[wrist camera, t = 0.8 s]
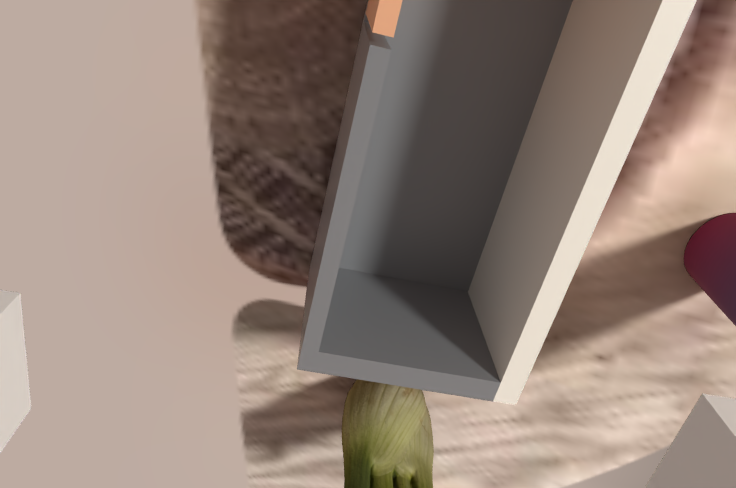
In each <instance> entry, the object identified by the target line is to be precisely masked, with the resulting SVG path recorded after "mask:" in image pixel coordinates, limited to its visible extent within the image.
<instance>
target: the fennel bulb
mask: <svg viewBox="0 0 736 488" xmlns="http://www.w3.org/2000/svg"><path fill="white" fill-rule="evenodd" d="M343 412H344V413H343V418H342V445H343V457H344V477H345V483H344V488H433V482H432V467H433V466H432V464H433V453H434V450H433V435H432V428H431V419H430V415H429V411H428V409H427V406H426V403H425V398H424V394H423V392H422V390H420V389H414V388H408V387H402V386H396V385H389V384H383V383H377V382H371V381H365V380H359V379H357V380H356V381H355V382H354V384H353V386H352V388H351V389H350V391H349V392H348V394H347V398H346V401H345V405H344V411H343Z"/></svg>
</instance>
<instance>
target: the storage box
mask: <svg viewBox="0 0 736 488" xmlns="http://www.w3.org/2000/svg"><path fill="white" fill-rule="evenodd" d="M368 1H369V0H367V5H366V10H367V6H368ZM696 1H697V0H402V5H401V9H400V13H399V17H398V21H397V25H396V30H395V34H394V38H393V37H389V36H385V35H381V34H377V33H373V32H372V30H371V27H370V24H369V21H368V18H367V15H366V10H365V14H364V19H363V23H362V28H361V33H360V37H359V42H358V47H357V51H356V56H355V60H354V65H353V70H352V74H351V79H350V84H349V88H348V93H347V97H346V102H345V107H344V111H343V116H342V121H341V125H340V130H339V135H338V139H337V144H336V148H335V153H334V158H333V162H332V167H331V172H330V176H329V181H328V185H327V190H326V195H325V199H324V204H323V209H322V213H321V218H320V222H319V227H318V232H317V236H316V241H315V246H314V250H313V255H312V259H311V264H310V269H309V275H308V283H307V291H306V300H305V308H304V316H303V324H302V332H301V341H300V349H299V357H298V365H297V369H298V370H304V371H310V372H316V373H322V374H329V375H335V376H341V377H347V378H353V379H359V380H365V381H371V382H377V383H383V384H389V385H396V386H402V387H408V388H414V389H420V390H426V391H432V392H438V393H444V394H450V395H457V396H463V397H469V398H475V399H481V400H487V401H493V402H499V403H505V404H511V405H516V403H517V401H518V399H519V397H520V394H521V392H522V390H523V388H524V386H525V383H526V381H527V379H528V377H529V374H530V372H531V370H532V368H533V365H534V363H535V361H536V359H537V356H538V354H539V352H540V350H541V347H542V345H543V343H544V341H545V339H546V336H547V334H548V332H549V330H550V327H551V325H552V323H553V321H554V318H555V316H556V314H557V312H558V309H559V307H560V305H561V303H562V300H563V298H564V296H565V294H566V292H567V289H568V287H569V285H570V283H571V280H572V278H573V276H574V274H575V271H576V269H577V267H578V265H579V262H580V260H581V258H582V256H583V254H584V251H585V249H586V247H587V245H588V242H589V240H590V238H591V236H592V233H593V231H594V229H595V227H596V224H597V222H598V220H599V218H600V215H601V213H602V211H603V209H604V207H605V204H606V202H607V200H608V198H609V195H610V193H611V191H612V189H613V186H614V184H615V182H616V180H617V177H618V175H619V173H620V171H621V168H622V166H623V164H624V162H625V160H626V157H627V155H628V153H629V151H630V148H631V146H632V144H633V142H634V139H635V137H636V135H637V133H638V130H639V128H640V126H641V124H642V122H643V119H644V117H645V115H646V113H647V110H648V108H649V106H650V104H651V101H652V99H653V97H654V95H655V92H656V90H657V88H658V86H659V83H660V81H661V79H662V77H663V75H664V72H665V70H666V68H667V66H668V63H669V61H670V59H671V57H672V54H673V52H674V50H675V48H676V45H677V43H678V41H679V39H680V37H681V34H682V32H683V30H684V28H685V25H686V23H687V21H688V19H689V16H690V14H691V12H692V10H693V7H694V5H695V3H696Z"/></svg>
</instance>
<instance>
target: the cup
mask: <svg viewBox="0 0 736 488" xmlns="http://www.w3.org/2000/svg"><path fill="white" fill-rule="evenodd" d="M684 265H685V268H686V270H687V272H688V273H689V275H690V276H691V277H692V278H693V279H694V280H695V282H696V283H697V284H698V285H699V286H700V287H701V288H702V289H703V290H704V292H705V293H706V294H707V295H708V296H709V297H710V298H711V299H712V300H713V301H714V303H715V304H716V305H717V306H718V307H719V308H720V309H721V310H722V311H723V312H724V314H725V315H726V316H727V317H728V318H729V319H730V320H731V321H732V322H733V324H734V325H735V326H736V213H729V214H724V215H721V216H718V217H716V218H713V219H711V220H710V221H708V222H707V223H705V224H703V225H702V226H701V227H700V228H699V229H698V230H697V231H696V232H695V233H694V234H693V235H692V237H691V238H690V240H689V242H688V243H687V246H686V249H685V253H684Z"/></svg>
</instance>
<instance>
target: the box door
mask: <svg viewBox="0 0 736 488" xmlns="http://www.w3.org/2000/svg"><path fill="white" fill-rule="evenodd" d="M401 5H402V0H369V1H368V6H367V10H366V15H367V18H368V21H369V24H370V27H371V30H372V32H373V33H377V34H381V35H385V36H389V37H393V38H394V34H395V30H396V25H397V21H398V17H399V13H400V9H401Z"/></svg>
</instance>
